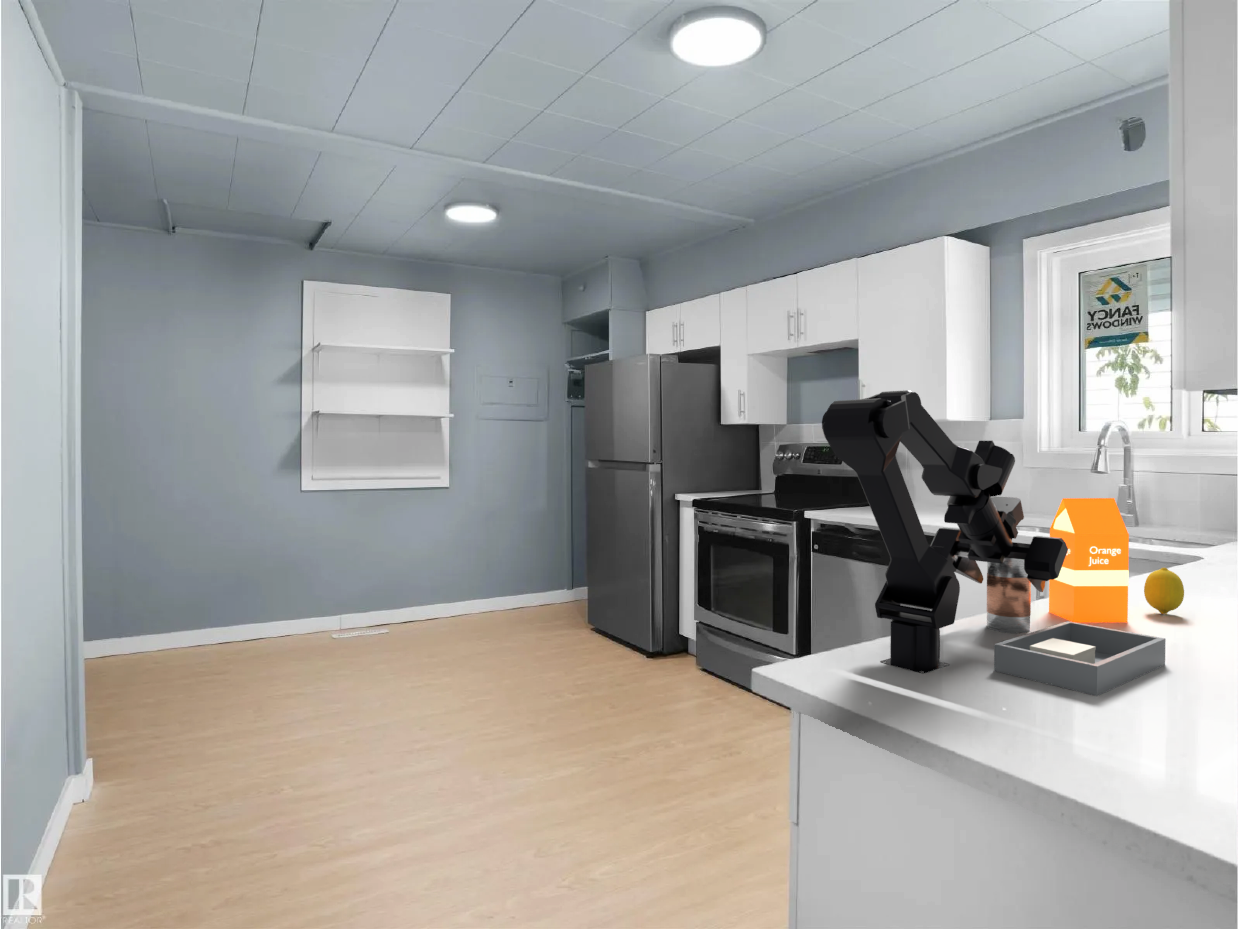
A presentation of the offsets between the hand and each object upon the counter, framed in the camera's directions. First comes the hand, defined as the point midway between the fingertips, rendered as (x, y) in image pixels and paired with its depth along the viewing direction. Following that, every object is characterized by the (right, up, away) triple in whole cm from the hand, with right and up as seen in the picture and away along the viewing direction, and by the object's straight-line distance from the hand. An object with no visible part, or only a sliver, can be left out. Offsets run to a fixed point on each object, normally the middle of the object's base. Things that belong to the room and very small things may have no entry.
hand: (1011, 585), depth 119 cm
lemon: (+31, -7, +10) cm, 33 cm away
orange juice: (+17, -7, +9) cm, 21 cm away
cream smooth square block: (-6, -7, -24) cm, 26 cm away
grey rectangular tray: (-2, -8, -21) cm, 22 cm away
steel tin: (-1, -7, 0) cm, 7 cm away
